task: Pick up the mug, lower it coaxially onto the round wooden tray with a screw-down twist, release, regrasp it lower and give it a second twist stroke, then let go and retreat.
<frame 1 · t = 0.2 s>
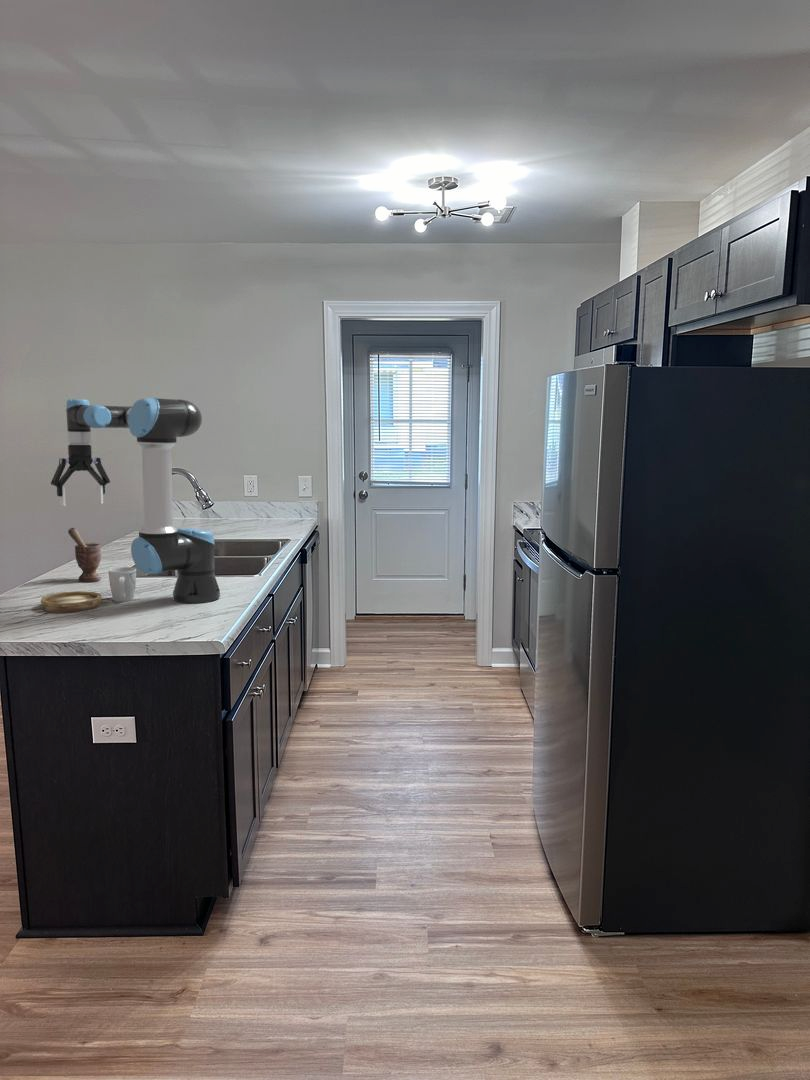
hand: (82, 504, 270), 28 cm above the worktop, fingers open, 13 cm apart
mortar and pestle: (86, 582, 274), on the worktop
round wooden tray: (71, 606, 238), on the worktop
mug: (123, 601, 247), on the worktop
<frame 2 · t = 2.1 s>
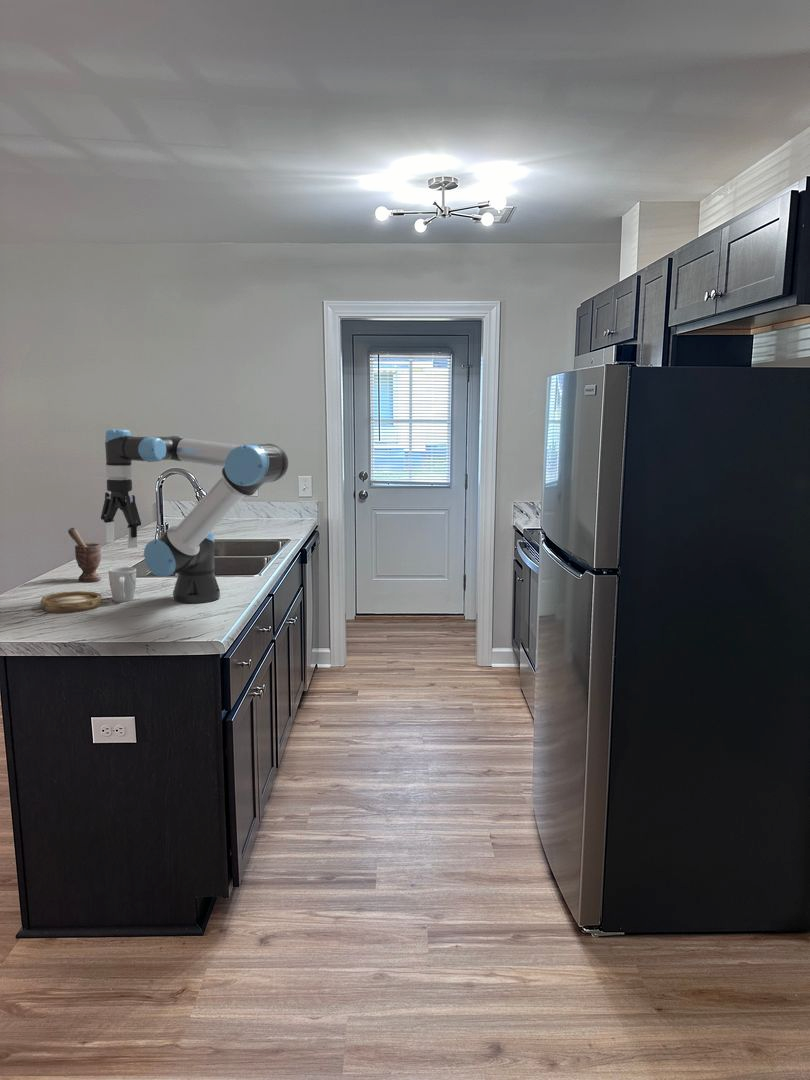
hand: (121, 545, 244), 18 cm above the worktop, fingers open, 13 cm apart
nothing on the worktop moved.
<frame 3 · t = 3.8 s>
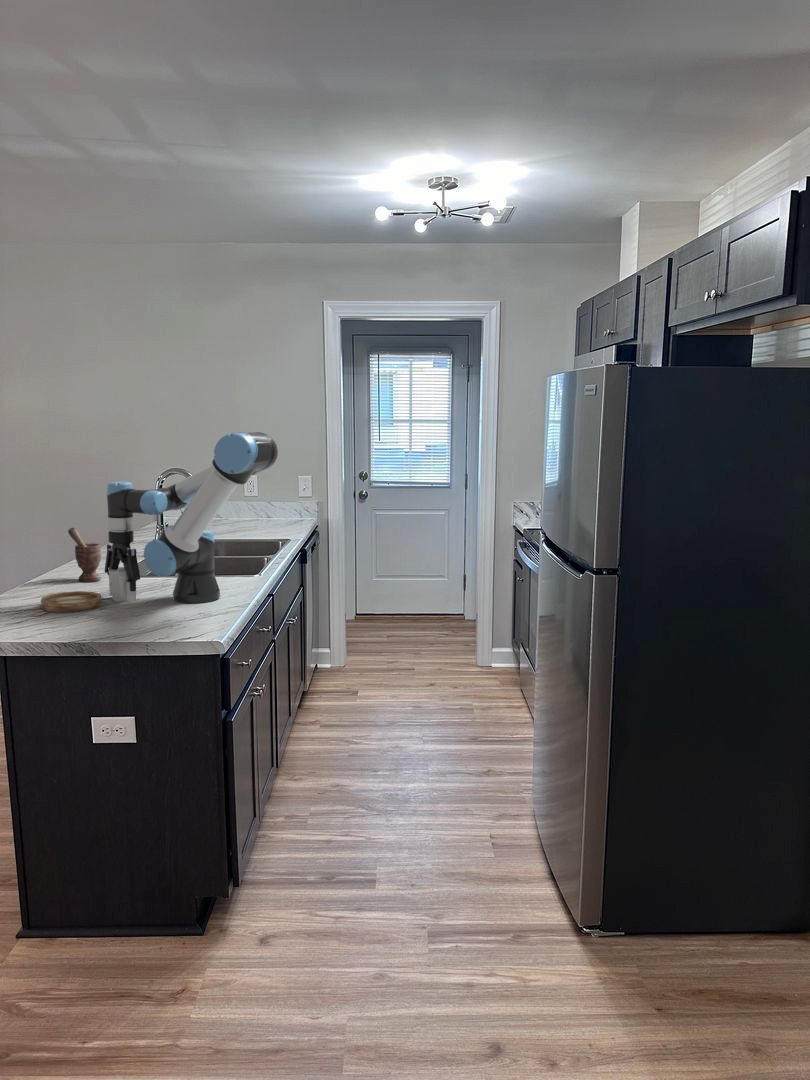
hand: (122, 597, 247), 1 cm above the worktop, fingers open, 10 cm apart
mug: (123, 601, 247), on the worktop, touching gripper
everything else where it was.
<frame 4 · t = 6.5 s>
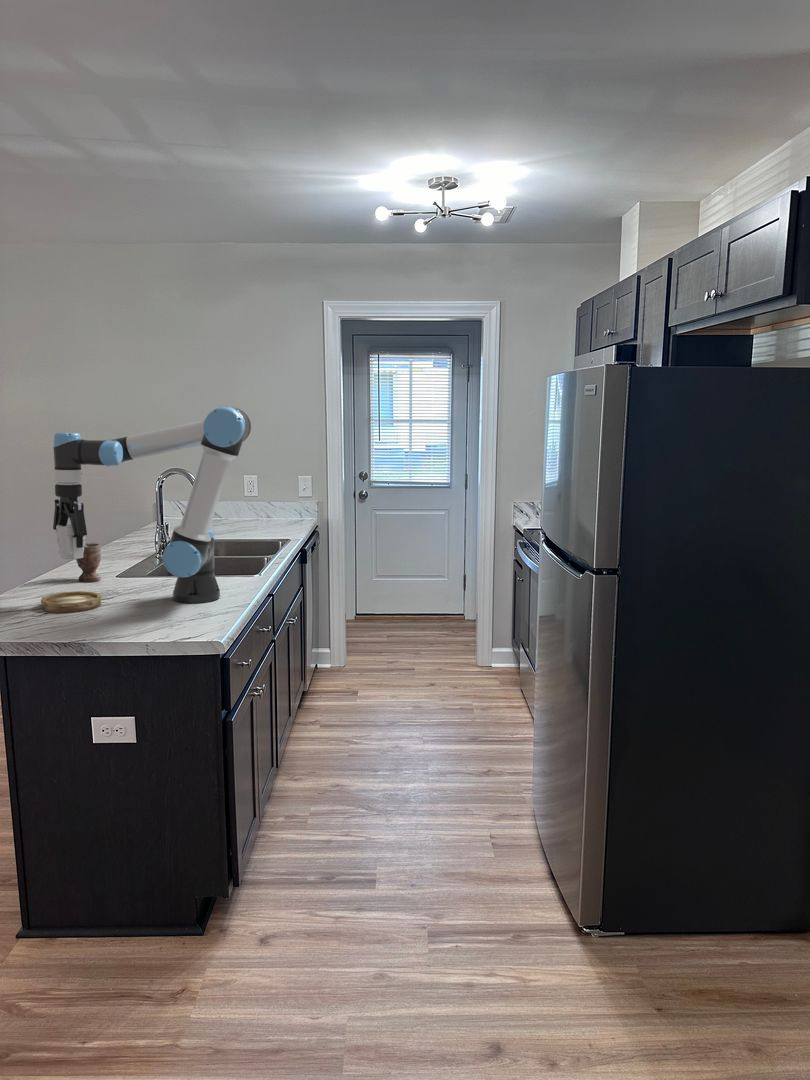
hand: (70, 555, 236), 16 cm above the worktop, fingers closed on mug, 10 cm apart
mug: (71, 559, 236), point 15 cm above the worktop, touching gripper
everything else where it was.
when the fingers open (4 cm above the worktop, at t = 9.2 s): mug drops 1 cm, resting on round wooden tray.
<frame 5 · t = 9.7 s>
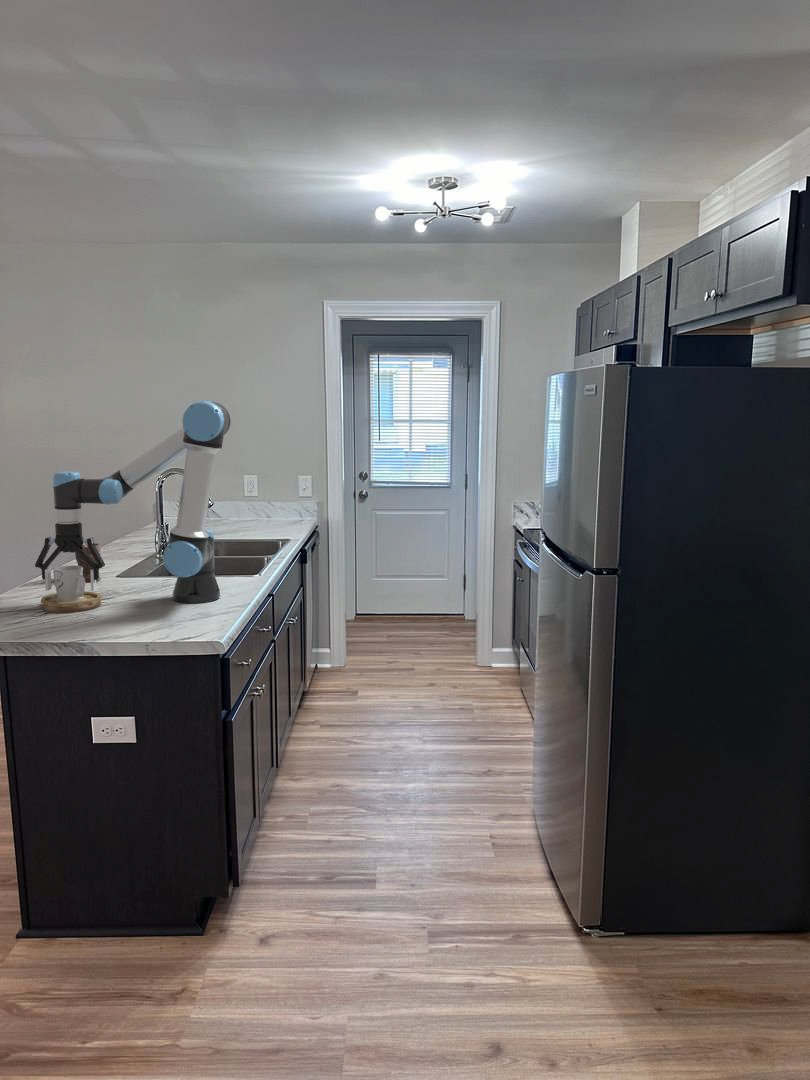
hand: (71, 589, 237), 5 cm above the worktop, fingers open, 13 cm apart
mug: (72, 600, 238), point 2 cm above the worktop, touching round wooden tray
everything else where it was.
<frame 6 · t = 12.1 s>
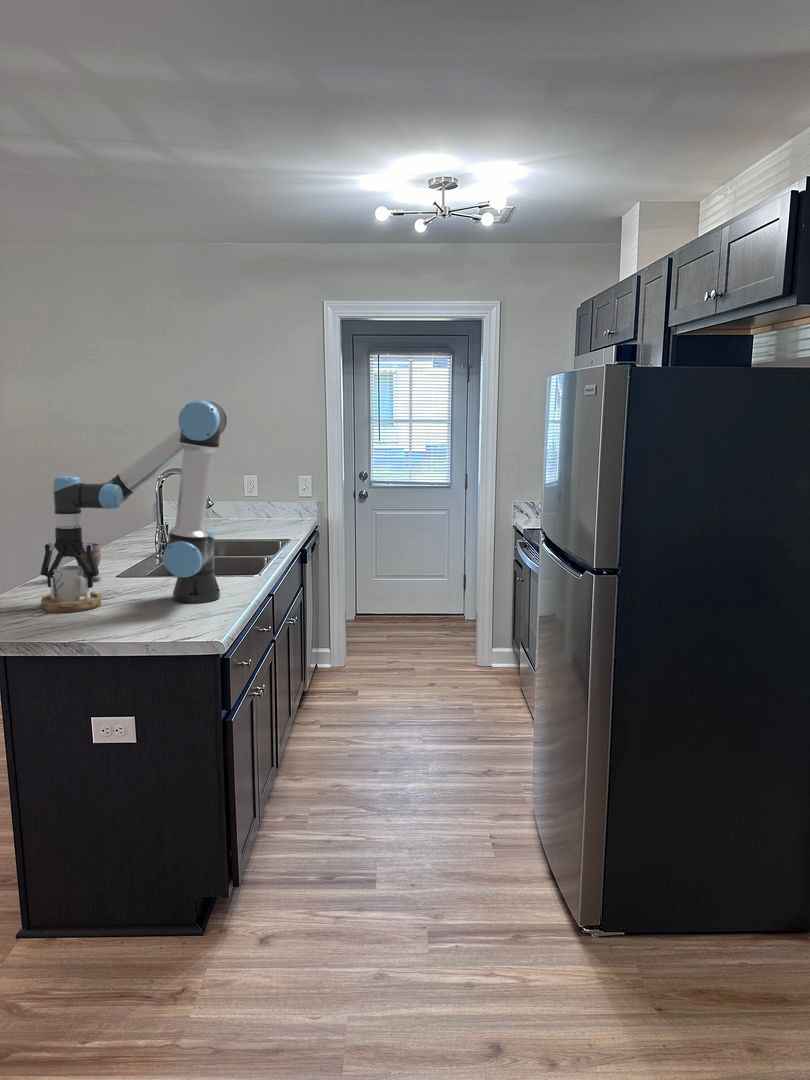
hand: (70, 597, 238), 3 cm above the worktop, fingers closed on mug, 9 cm apart
mug: (72, 600, 238), point 2 cm above the worktop, touching gripper, round wooden tray
everything else where it was.
when the fingers open (4 cm above the worktop, at t = 13.4 s): mug drops 1 cm, resting on round wooden tray.
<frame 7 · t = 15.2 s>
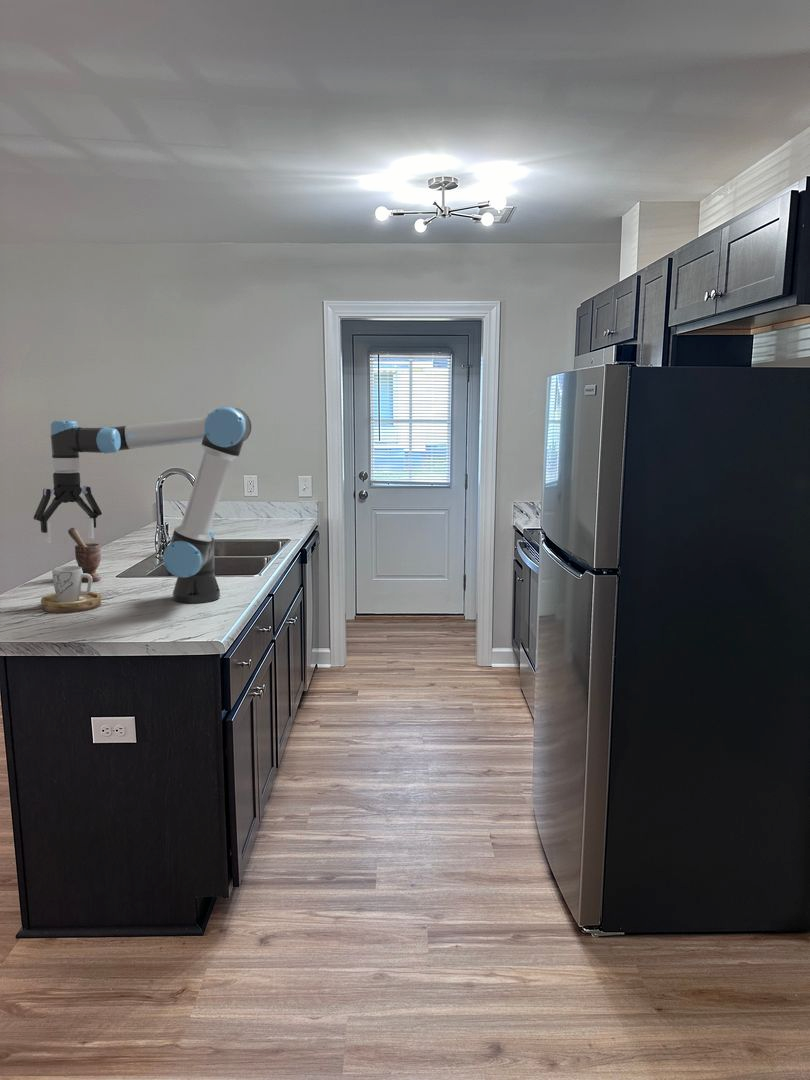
hand: (69, 540, 235), 21 cm above the worktop, fingers open, 13 cm apart
mug: (73, 600, 238), point 2 cm above the worktop, touching round wooden tray
everything else where it was.
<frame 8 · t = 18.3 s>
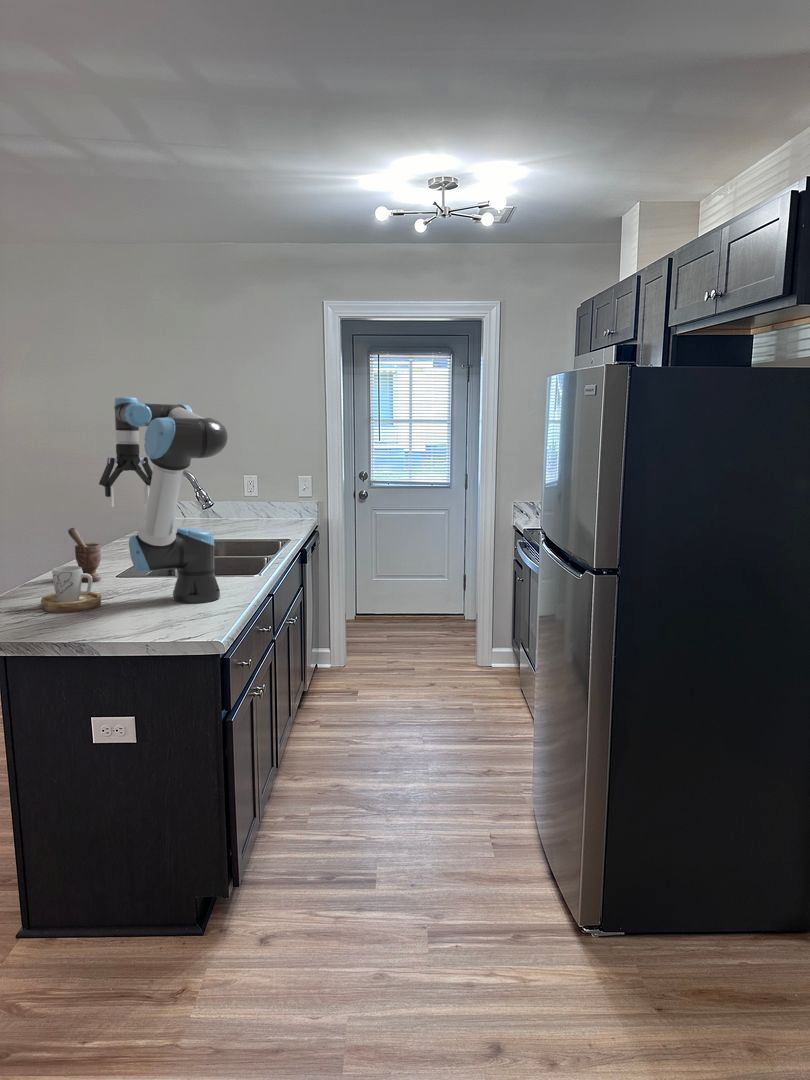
hand: (129, 505, 263), 29 cm above the worktop, fingers open, 13 cm apart
nothing on the worktop moved.
at the end: mug inside the target area on the round wooden tray (0.6 cm from its centre), point 1.8 cm above the round wooden tray's base; mug tilted 0°; the gripper is holding nothing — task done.
